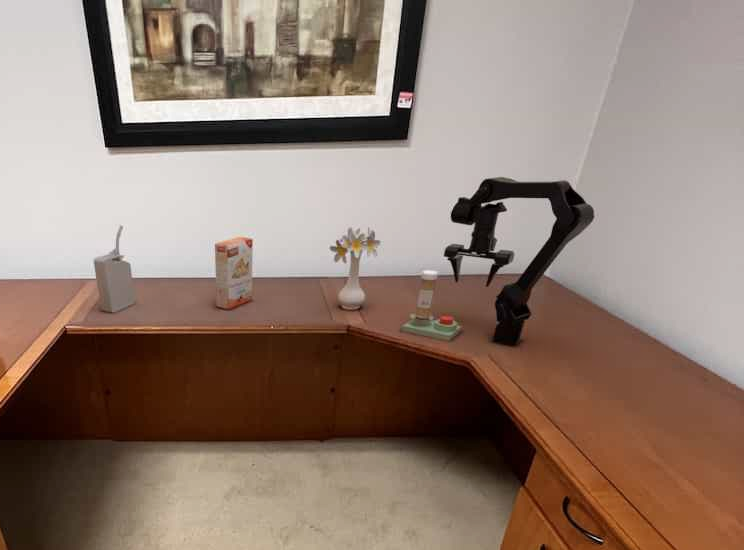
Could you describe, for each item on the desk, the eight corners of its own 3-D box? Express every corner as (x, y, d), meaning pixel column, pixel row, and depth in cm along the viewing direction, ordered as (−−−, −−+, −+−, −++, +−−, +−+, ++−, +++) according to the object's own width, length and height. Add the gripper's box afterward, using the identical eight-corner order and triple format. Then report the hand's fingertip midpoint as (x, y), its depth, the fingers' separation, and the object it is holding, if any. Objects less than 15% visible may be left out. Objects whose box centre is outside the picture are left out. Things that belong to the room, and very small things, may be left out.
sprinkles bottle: (431, 316, 173) (440, 270, 165) (427, 320, 170) (435, 274, 162) (417, 313, 175) (425, 268, 167) (412, 317, 172) (420, 272, 164)
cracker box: (229, 310, 192) (227, 245, 179) (215, 307, 195) (213, 243, 182) (253, 300, 201) (253, 237, 188) (240, 297, 204) (239, 235, 191)
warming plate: (437, 316, 173) (437, 315, 173) (428, 323, 169) (428, 322, 168) (415, 312, 177) (415, 311, 177) (405, 318, 172) (406, 317, 172)
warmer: (460, 331, 172) (463, 320, 170) (449, 341, 166) (451, 329, 164) (414, 322, 180) (416, 311, 178) (401, 331, 173) (403, 319, 171)
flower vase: (320, 311, 190) (326, 231, 175) (346, 298, 201) (354, 222, 187) (354, 318, 183) (363, 236, 168) (379, 304, 195) (389, 226, 180)
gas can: (129, 299, 204) (119, 224, 189) (139, 301, 202) (130, 225, 187) (101, 311, 193) (88, 232, 178) (112, 313, 191) (100, 234, 176)
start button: (453, 323, 169) (454, 317, 168) (449, 326, 167) (450, 320, 166) (442, 321, 171) (443, 315, 170) (437, 324, 169) (438, 318, 168)
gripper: (526, 226, 160) (511, 283, 169) (461, 220, 169) (450, 274, 178) (515, 233, 152) (500, 291, 162) (448, 226, 161) (438, 281, 171)
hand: (471, 284), depth 168 cm, fingers open, 9 cm apart
